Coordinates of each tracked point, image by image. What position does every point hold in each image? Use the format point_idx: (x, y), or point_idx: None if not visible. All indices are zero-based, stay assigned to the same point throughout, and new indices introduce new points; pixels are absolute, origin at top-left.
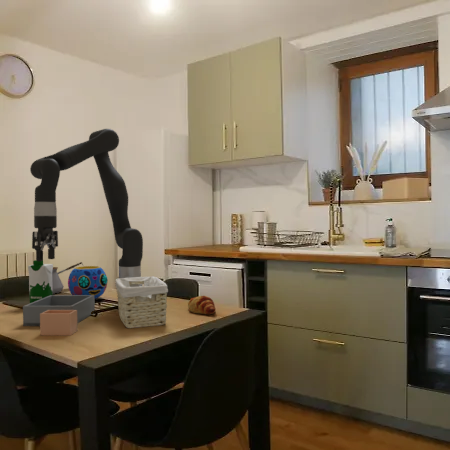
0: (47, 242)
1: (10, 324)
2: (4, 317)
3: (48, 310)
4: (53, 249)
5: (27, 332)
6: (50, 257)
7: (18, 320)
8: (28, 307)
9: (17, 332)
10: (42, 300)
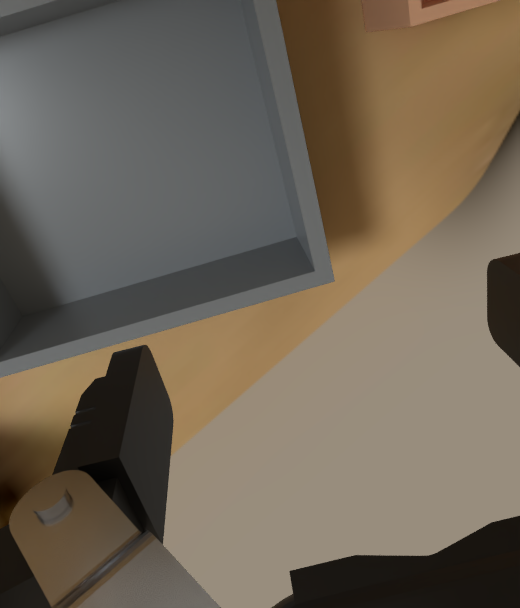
0: (487, 544)
1: (297, 318)
2: (195, 434)
3: (429, 8)
4: (123, 454)
5: (416, 123)
6: (159, 397)
7: (222, 343)
8: (325, 248)
9: (422, 173)
10: (121, 324)
